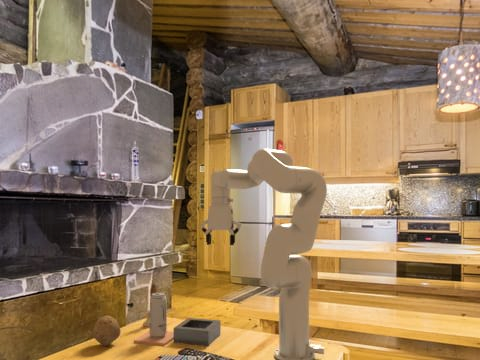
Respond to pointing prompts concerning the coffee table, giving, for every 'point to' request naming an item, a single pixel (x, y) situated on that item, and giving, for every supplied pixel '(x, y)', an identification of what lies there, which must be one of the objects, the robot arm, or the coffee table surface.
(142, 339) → the terracotta tile
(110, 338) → the natural sponge
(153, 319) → the energy drink can
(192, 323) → the frame
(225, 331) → the coffee table surface
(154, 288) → the hand bell
